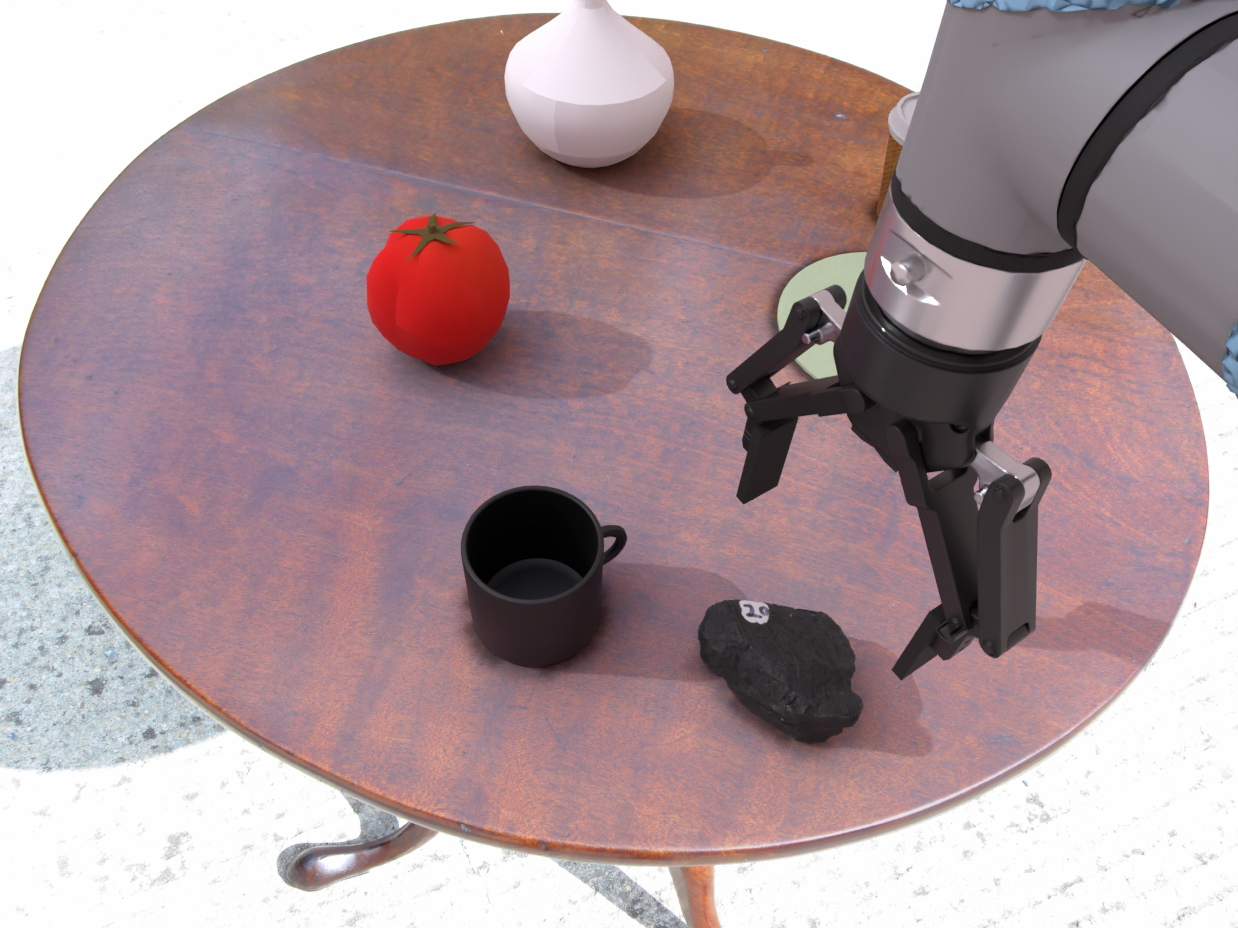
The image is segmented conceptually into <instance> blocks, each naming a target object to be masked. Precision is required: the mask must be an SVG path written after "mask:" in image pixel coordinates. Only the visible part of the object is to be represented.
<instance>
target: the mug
mask: <svg viewBox="0 0 1238 928" xmlns="http://www.w3.org/2000/svg"><path fill="white" fill-rule="evenodd" d="M606 538H615V540H614V541H613V543H612V544H611V546H610V547H609V548H608V549H607V550H605V539H606ZM627 542H628V535H627V532H626V530H625V528H624V527H623V526H621V525H618V524H606V525H601V523H600V521H599V519H598V517H597V516H596V514H595V513H594V512H593V511H592V509H591V508H590V507H589V506H588V505H587V504H586V503H585V502H584V501H583V500H581V499H580V498H578V497H577V496H575V495H574V494H572V493H570V492H568V491H566V490H563V489H560V488H557V487H552V486H549V485H548V486H547V485H538V484H537V485H536V484H535V485H522V486H517V487H513V488H508V489H505V490H503V491H501V492H499V493H497V494H495V495H493V496H492V497H490V498H488V499H486V500H485V501H484V502H483V503H482V504H481V505H479V506H478V507H477V508H476V510H474V512H473V513H472V514H471V515H470V517H469V519H468V521H467V522H466V524H465V527H464V529H463V531H462V535H461V540H460V557H461V564H462V568H463V574H464V580H465V587H466V593H467V598H468V606H469V610H470V617H471V621H472V627H473V628H474V631H475V633H476V635H477V637H478V639H479V640H480V641H481V643H482V644H483V645H484V646H485V647H486V649H487V650H489V651H490V652H491V653H493V655H496V656H497V657H499V658H500V659H502V660H504V661H507V662H509V663H512V664H515V665H519V666H524V667H543V666H544V667H545V666H549V665H554V664H556V663H557V664H558V663H560V662H562V661H564V660H566V659H568V658H570V657H572V656H574V655H575V654H576V653H578V652H579V651H581V650H582V649H583V647H585V646H586V645H587V643H588V642H589V641H590V640H591V638H592V637H593V635H594V634H595V632H596V629H597V628H598V625H599V622H600V618H601V609H602V595H603V594H602V593H603V575H604V574H603V573H604V566H605V565H607V564H608V563H610V562H611V561H613V560H614V559H616V557H618V556H619V554H620V553H622V552H623V550H624V548H625V546H626V544H627Z"/></svg>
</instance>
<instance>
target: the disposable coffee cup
mask: <svg viewBox="0 0 1238 928" xmlns="http://www.w3.org/2000/svg"><path fill="white" fill-rule="evenodd" d="M919 94H920V91H914V92H911V93H907V94H905V95H904V96H902V97H901V98H900V99H899V100H898V102H897V104H896V105H895V106H894V107H893V108H892V109H891V110H890V111H889V114H888V117H887V123H888V124H887V125H888V130H889V133H888V139H887V145H886V151H885V159H884V164H883V171H882V177H881V183H880V188H879V189H880V190H879V195H878V203H877V207H876V216H877V217H878V218H879V215H880V212H881V209H882V206H883V203H884V200H885V197H886V194H887V191H888V188H889V185H890V182H891V178H892V175H893V172H894V169H895V166H896V164H897V162H898V159H899V155H900V153H901V151H902V147H903V144H904V141H905V138H906V135H907V132H908V129H909V125H910V122H911V119H912V116H913V113H914V110H915V106H916V103H917V100H918V97H919ZM878 218H877V219H878Z"/></svg>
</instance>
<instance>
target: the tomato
mask: <svg viewBox="0 0 1238 928" xmlns="http://www.w3.org/2000/svg"><path fill="white" fill-rule="evenodd" d="M474 224H477V222H476V221H458V220H455V219H453V218H448V217H443V216H440V215H439V216H438V215H437V213H436V212H434V213H433V214H432V215H425V216H424V215H423V216H419V217H413V218H407V219H405V220H404V221H403V222H402V223H401V224H400V225H399V226H397V227H396V228H395V229H394V230H393V229H392V230H389V231H388V232H390V233H389V235H388V238H387V240H386V242H385V245H384V247H383V248H382V249H381V250H380V251H379V252H378V254H376V256H375V257H374V259H373V260H372V263H371V265H370V267H369V270H368V272H367V274H366V279H365V280H366V306H367V309H368V313H369V316H370V320H371V323H372V324H373V326H374V327H375V328H376V329H377V331H378V332H379V333H380V334H381V336H382V337H383V338H384V339H386V340H387V342H389V344H391V346H393V347H394V348H395V349H396V350H398V351H400V352H402V353H404V354H405V355H407V356H409V357H412V358H414V359H417V360H419V361H422V362H424V363H427V364H429V365H432V366H435V367H438V366H439V367H440V366H443V365H444V366H445V365H450V364H456V363H459V362H463V361H467V360H469V359H470V358H471V357H473V356H474V355H476V354H477V353H479V352H480V351H482V350H483V349H485V348H486V346H487V345H488V344H489V343H490V342H491V340H492V339H493V338H494V336H495V335H496V334H497V332H498V331H499V330H500V328H501V327H502V325H503V321H504V319H505V317H506V314H507V310H508V307H509V302H510V298H511V280H510V270H509V267H508V265H507V264H508V263H506V260H505V257H504V255H503V253H502V251H501V248H500V246H499V244H498V243H497V242H496V241H495V239H494V238H493V237H492V236H491V235H490V234H489V232H488V231H486V230H484V229H482V228H480V227H478V226H476V225H474Z"/></svg>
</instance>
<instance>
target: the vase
mask: <svg viewBox="0 0 1238 928" xmlns="http://www.w3.org/2000/svg"><path fill="white" fill-rule="evenodd" d="M610 4H611V3H609V2H608V0H574V1H573V2H572V3H571V4H570V5H569V6H568V8H566V9H565V10H564V11H562V12H560V13H559V14H558V15H556V16H555V17H554V18H552V19H551V20H549V21H548V22H546V23H545V24H543V25H542V26H540V27H538V28H537V29H534V30H533V31H532V32H530V33H529V34H527V35H526V36H525V37H523V38H522V39H520V40H519V41H517V42H516V43H515V45H514V46H513V48H512V49H511V51H510V52H509V55H508V58H507V61H506V64H505V70H504V76H503V77H504V89H505V96H506V97H505V98H506V99H507V102H508V106H509V108H510V110H511V112H512V113H513V116H514V117H515V120H516V122H517V123H518V125H519V128H520V129H521V131H522V132H523V134H525V136H527V138H528V139H529V140H530V141H531V142H532V143H533V145H535V146H536V147H537V148H538V150H540V151H541V152H542V153H544V154H546V155H547V156H549V157H550V158H552V159H553V160H556V161H558V162H561V163H563V164H566V165H568V166H572V167H577V168H584V169H585V168H586V169H597V168H598V169H599V168H605V167H610V166H612V165H615V164H618V163H620V162H623V161H625V160H626V159H629V158H630V157H632V156H634V155H636V154H637V153H638V152H639V151H640V150H641V149H642V148H643V147H644V146H645V145H646V144H647V143H649V142H650V140H652V138H653V137H655V136H656V134H657V133H658V130H659V129H660V127H661V125H662V124H663V121H664V120H665V118H666V116H667V115H668V112H669V109H670V108H671V105H672V103H673V98H674V90H675V75H674V73H675V72H674V68H673V65H672V62H671V58H670V56H669V55H668V53H667V52H666V50H665V48H664V47H663V46H661V44H659V43H658V42H657V41H655V40H654V39H653V38H652V37H650V36H649V35H648V34H646V33H645V32H643V31H642V30H641V29H639V28H638V27H636V26H635V25H634V24H632V23H631V22H629V20H627V19H626V18H624V16H622V15H621V14H619V12H617V11H616V10H614V8H613V7H612V6H611V5H610Z"/></svg>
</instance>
